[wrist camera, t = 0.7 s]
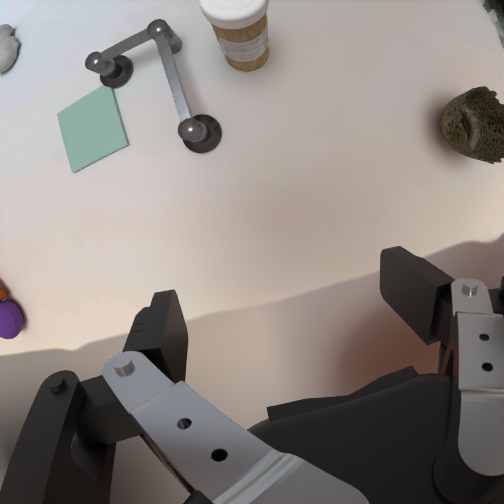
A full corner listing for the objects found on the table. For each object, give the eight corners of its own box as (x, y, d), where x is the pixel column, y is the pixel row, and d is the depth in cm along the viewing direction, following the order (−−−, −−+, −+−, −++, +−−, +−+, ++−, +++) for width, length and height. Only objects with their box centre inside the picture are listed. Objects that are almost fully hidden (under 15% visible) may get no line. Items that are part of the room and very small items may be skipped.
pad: (59, 114, 30) (57, 114, 29) (111, 83, 28) (109, 82, 28) (75, 172, 32) (72, 173, 31) (129, 144, 31) (127, 144, 30)
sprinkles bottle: (231, 31, 26) (209, -36, 14) (274, 40, 27) (276, -27, 14) (219, 67, 28) (187, 14, 15) (262, 77, 28) (257, 24, 15)
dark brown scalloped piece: (412, 129, 28) (450, 124, 21) (441, 84, 26) (479, 71, 19) (456, 172, 29) (497, 179, 22) (481, 128, 27) (523, 126, 20)
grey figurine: (23, 68, 29) (-4, 79, 28) (26, 24, 26) (-1, 36, 25) (10, 60, 25) (-18, 73, 24) (16, 14, 22) (-12, 28, 21)
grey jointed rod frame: (99, 66, 28) (74, 55, 23) (185, 25, 26) (171, 4, 21) (132, 181, 32) (109, 186, 26) (226, 145, 30) (218, 142, 25)
